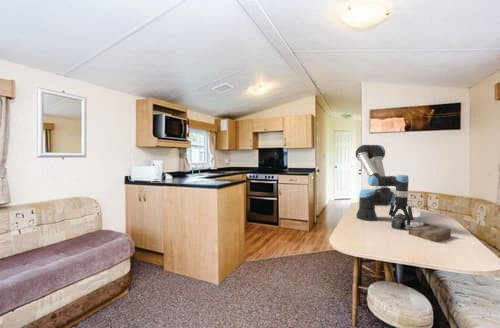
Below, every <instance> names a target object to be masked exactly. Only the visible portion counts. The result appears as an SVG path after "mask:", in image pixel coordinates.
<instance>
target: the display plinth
mask: <svg viewBox="0 0 500 328" xmlns="http://www.w3.org/2000/svg"><path fill="white" fill-rule="evenodd" d="M408 235H411V236H413V237H417V238H421V239H423V240H424V239H425V240H426V241H427V240H428V241H430V242H434V243H437V242H440V241H443V240H447V239H450V238H451V237H452V228H448V227H444V226H440V225H437V224H432V223H429V222H423V224H420V225H417V226H412V225H409V229H408Z"/></svg>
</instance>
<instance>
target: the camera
mask: <svg viewBox="0 0 500 328" xmlns="http://www.w3.org/2000/svg"><path fill="white" fill-rule="evenodd" d="M390 220H391V219H390ZM406 220H407V219H406V217H405V214H404V213H401V212H399V213H397V214H395V218H393V219H392V220H391V221H390V222H391V224H390V225H391V228H392V229H395V230H398V231H400V230H402V228H403V229H404V228H405V224H406Z"/></svg>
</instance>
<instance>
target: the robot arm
mask: <svg viewBox="0 0 500 328" xmlns="http://www.w3.org/2000/svg"><path fill="white" fill-rule="evenodd" d="M355 157H356V160H357V161H359V162H360V164H361V166H362V167H363V169H364V170H365V173H366V175H367V176H368V178H367V183H368V185H369V186H370V187H375V189H371V188H370V189H369V188H368V189H367V188H366V189H362V190H360V191H359V195H358V197H359V202H358V203H359V205H358V211H357V213H356V218H357V219H359V220H362V221H367V222H368V221H371V222H372V221H377V220H378V216H377V212H376V206H377V207H381V206H382V207H383V206H384V207H390V208H389V212H388V215H389V216H390V217H391V218H390V220H392V219H393V218H395V215H397V214H398V211H399V210H402V212H403V214H404V215H405V217H406V219H407V220H406V224H405V227H404V228H405V230H409V226H411V221H413V220H414V215H413V210H412V208H413V206H412V205H409V204H408V202H409V201H408V197H409V176H408V174H397V175H387V176H386V174H385V168H384V163H383V160H384V158H385V157H386V149H385V147H384V146H383V145H381V144H362V145H360V146H358V147H357V149H356V150H355ZM390 187H395V192H394V191H392V190H391V188H390Z"/></svg>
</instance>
